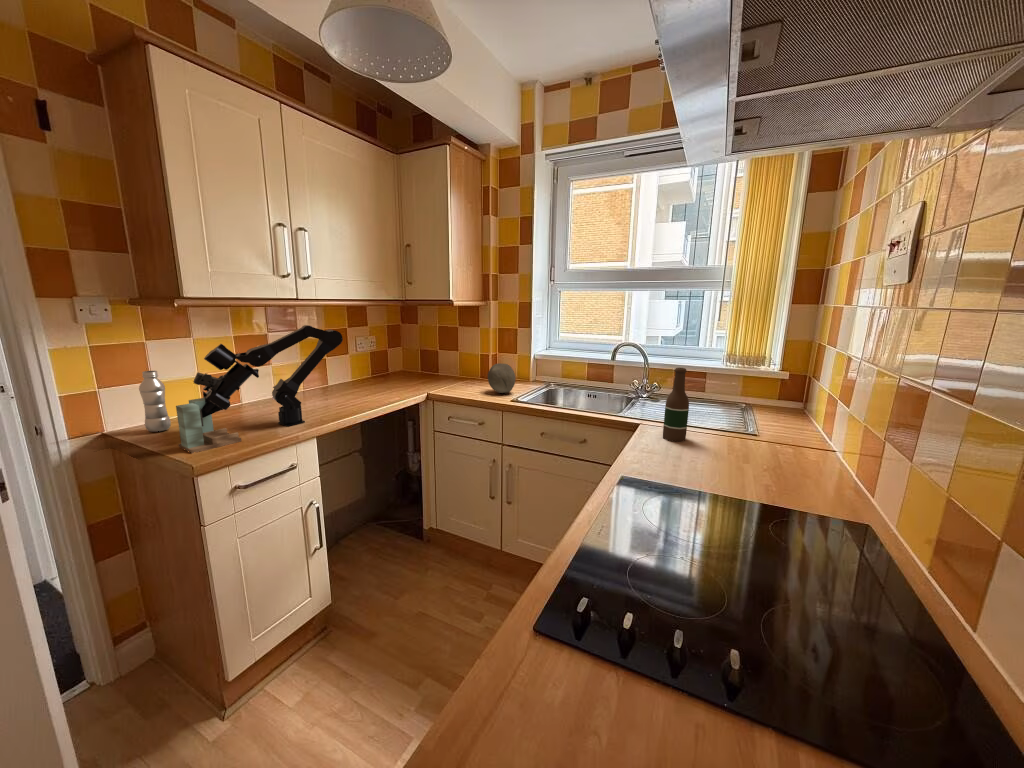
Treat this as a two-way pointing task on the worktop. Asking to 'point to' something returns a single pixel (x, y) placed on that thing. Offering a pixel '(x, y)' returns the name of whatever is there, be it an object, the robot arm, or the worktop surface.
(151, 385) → the plastic bottle
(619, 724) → the worktop surface
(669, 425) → the beer bottle
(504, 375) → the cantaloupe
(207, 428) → the block
